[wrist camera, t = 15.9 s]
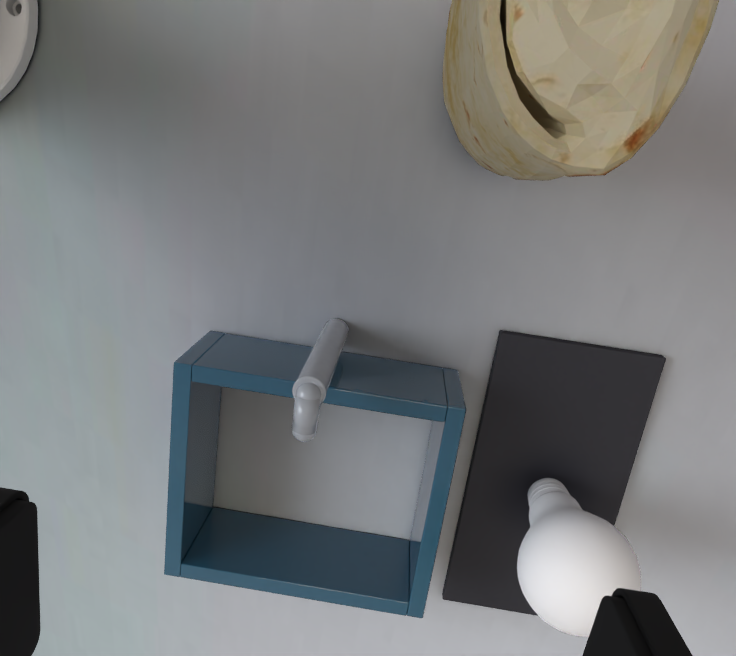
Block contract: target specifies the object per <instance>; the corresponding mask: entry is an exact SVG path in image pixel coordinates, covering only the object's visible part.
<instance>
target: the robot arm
mask: <svg viewBox="0 0 736 656" xmlns="http://www.w3.org/2000/svg"><path fill="white" fill-rule="evenodd" d="M21 8H22V10H21ZM37 31H38V3H37V0H0V101H1V100H2V99H3V98H4V97H5V96H6V95H7V94H8V93H9V92H11V91H12V90H13V89H14V88H15V86H16V85H17V83H18V82H19V80H20V79H21V77H22V76H23V74H24V73H25V71H26V69H27V66H28V64H29V61H30V59H31V57H32V54H33V51H34V46H35V41H36V36H37ZM39 635H40V602H39V564H38V527H37V507H36V505H35V503H33V502H29V498H28V495H27V494H26V493H25V492H23V491H18V490H12V489H6V488H0V656H31V655H32V654H33V652H34V650H35V648H36V645H37V643H38V640H39ZM583 656H692V654H691V653H690V651H689V649H688V647H687V646H686V644H685V642H684V640H683V639H682V637H681V635H680V633H679V632H678V630H677V628H676V626H675V625H674V623H673V621H672V619H671V618H670V616H669V614H668V612H667V611H666V609H665V607H664V605H663V603H662V602H661V600H660V599H659V598H658V596H657V595H655V594H653V593H648V592H642V591H636V590H630V589H624V588H617V589H616V590H615V591H614V592H613V594H612V596H608V595H607V596H604V597H603V598H602V600H601V602H600V605H599V608H598V611H597V614H596V617H595V620H594V623H593V626H592V629H591V632H590V635H589V638H588V641H587V644H586V647H585V650H584V653H583Z"/></svg>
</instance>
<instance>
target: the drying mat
mask: <svg viewBox="0 0 736 656" xmlns="http://www.w3.org/2000/svg"><path fill="white" fill-rule="evenodd" d="M665 360H666V358H665V357H664V356H662V355H657V354H651V353H644V352H638V351H632V350H625V349H619V348H612V347H606V346H600V345H593V344H587V343H580V342H574V341H567V340H561V339H555V338H548V337H542V336H535V335H529V334H523V333H516V332H510V331H503V330H500V331H499V336H498V341H497V345H496V350H495V354H494V359H493V364H492V368H491V373H490V377H489V382H488V387H487V391H486V396H485V400H484V405H483V410H482V414H481V419H480V423H479V428H478V433H477V437H476V442H475V446H474V451H473V455H472V460H471V465H470V469H469V474H468V478H467V483H466V488H465V492H464V497H463V501H462V506H461V511H460V515H459V520H458V524H457V529H456V534H455V538H454V543H453V547H452V552H451V557H450V561H449V566H448V570H447V575H446V580H445V584H444V589H443V593H442V594H443V599H444V600H450V601H456V602H461V603H467V604H473V605H479V606H485V607H491V608H497V609H502V610H508V611H514V612H520V613H526V614H532V615H537V614H536V612H535V611H534V610H533V609H532V608H531V606H530V605H529V603H528V601H527V600H526V598H525V596H524V594H523V593H522V590H521V587H520V584H519V580H518V574H517V560H518V552H519V548H520V546H521V543H522V541H523V539H524V537H525V535H526V533H527V532H528V530H529V529H530V522H529V509H530V508H529V503H528V496H527V495H528V490H529V488H530V487H531V485H532V484H533V483H534V482H536V481H538V480H540V479H543V478H553V479H556V480H558V481H560V482H561V483H562V484H563V485H564V486H565V488H566V489H567V491H568V492H569V494H570V496H572V497H573V498H574V499H575V500H576V501H577V502H578V503H579V505H580V507H581V508H582V510H583V511H586V512H589V513H591V514H593V515H596V516H598V517H600V518H602V519H604V520H606V521H608V522H609V523H610V524H612V525H613V526H614V524H615V521H616V518H617V515H618V512H619V508H620V505H621V502H622V499H623V495H624V492H625V489H626V486H627V483H628V479H629V476H630V473H631V470H632V466H633V463H634V460H635V457H636V454H637V450H638V447H639V444H640V441H641V437H642V434H643V431H644V428H645V425H646V421H647V418H648V415H649V412H650V408H651V405H652V402H653V399H654V396H655V392H656V389H657V386H658V383H659V379H660V376H661V373H662V370H663V367H664V363H665Z"/></svg>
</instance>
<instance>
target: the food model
mask: <svg viewBox="0 0 736 656" xmlns="http://www.w3.org/2000/svg"><path fill="white" fill-rule="evenodd" d="M718 2H719V0H452V4H451V8H450V12H449V20H448V27H447V33H446V44H445V52H444V61H443V92H444V103H445V106H446V108H447V111H448V114H449V116H450V119H451V122H452V124H453V127H454V129H455V132H456V134H457V136H458V139H459V141H460V143H461V144H462V145H463V147H464V148H465V149H466V151H467V152H468V153H469V155H470V156H471V157H472V158H473V159H474V160H475V161H476V162H477V163H478V164H479V165H481V166H483V167H484V168H485V169H487V170H490V171H492V172H494V173H496V174H498V175H501V176H509V177H512V178H514V179H521V180H542V181H543V180H552V179H556V178H559V177H562V176H567V177H574V176H596V175H606V174H607V173H609V172H610V171H612V170H613V169H615V168H617V167H618V166H620V165H621V164H623V163H624V162H626V161H627V160H629V159H631V158H632V157H633V156H634V155H635V153H636V152H637V151H638V150H639V149H640V148H641V147H642V146H643V145H644V144H645V143H646V142H647V140H648V139H649V138H650V137H651V136H652V135H653V134H654V133H655V132H656V131H657V130H658V129H659V127H660V125H661V124H662V122H663V121H664V119H665V117H666V116H667V114H668V113H669V111H670V109H671V108H672V106H673V105H674V103H675V102H676V100H677V98H678V97H679V95H680V94H681V92H682V90H683V89H684V87H685V85H686V83H687V81H688V78H689V76H690V74H691V72H692V69H693V67H694V65H695V62H696V60H697V58H698V56H699V53H700V51H701V49H702V46H703V44H704V42H705V40H706V37H707V35H708V33H709V31H710V28H711V25H712V21H713V18H714V15H715V12H716V9H717V5H718Z"/></svg>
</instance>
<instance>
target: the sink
mask: <svg viewBox="0 0 736 656" xmlns="http://www.w3.org/2000/svg"><path fill="white" fill-rule="evenodd" d="M348 332H349V330H348V326H347V325H346V323H345V322H344V321H342V320H340V319H331V320H329V321H327V322H326V323H325V325H324V327H323V329H322V331H321V333H320V335H319V337H318V339H317V341H316V343H315V344H314V346H313V347H310V346H303V345H297V344H291V343H284V342H278V341H272V340H265V339H259V338H253V337H246V336H240V335H234V334H228V333H226V334H225V333H223V332H216V331H209V332H208V333H207V334H206V335H205V336H204V337H203V338H201V339H200V340H199V341H198V342H197V343H196V344H195V345H193V346H192V347H191V348H190V349H189V350H188V351H187V352H185V353H184V354H183V355H182V356H181V357H180V358H178V359H177V360H176V361H175V362H174V372H173V394H172V416H171V438H170V460H169V482H168V504H167V526H166V548H165V570H164V574H165V575H171V576H177V577H183V578H189V579H195V580H201V581H207V582H213V583H218V584H224V585H230V586H236V587H242V588H247V589H253V590H259V591H265V592H271V593H277V594H282V595H288V596H294V597H300V598H306V599H312V600H317V601H323V602H329V603H335V604H341V605H346V606H352V607H358V608H364V609H370V610H376V611H381V612H387V613H393V614H399V615H405V616H406V615H407V616H412V617H417V618H423V615H424V610H425V605H426V600H427V596H428V591H429V586H430V581H431V576H432V572H433V567H434V562H435V557H436V552H437V548H438V543H439V538H440V533H441V528H442V524H443V519H444V514H445V509H446V504H447V500H448V495H449V490H450V485H451V480H452V476H453V471H454V466H455V461H456V456H457V452H458V447H459V442H460V437H461V432H462V428H463V423H464V418H465V413H466V407H465V402H464V397H463V392H462V387H461V383H460V378H459V373H458V370H455V369H449V368H443V369H442V368H441V367H436V366H429V365H423V364H417V363H410V362H404V361H398V360H392V359H385V358H379V357H373V356H366V355H360V354H354V353H347V352H342V350H343V347H344V344H345V342H346V339H347V336H348ZM221 387H228V388H235V389H241V390H247V391H253V392H259V393H266V394H272V395H278V396H284V397H290V398H294V399H295V405H294V414H293V423H292V433H293V436H294V437H295V438H296V439H297V440H298V441H301V442H308V441H310V440H312V439H313V438H314V437H315V435H316V433H317V427H318V419H319V412H320V404H321V403H328V404H334V405H340V406H346V407H352V408H359V409H365V410H371V411H377V412H383V413H390V414H396V415H402V416H408V417H414V418H421V419H427V420H433V421H432V427H431V432H430V437H429V442H428V447H427V453H426V458H425V463H424V468H423V474H422V479H421V484H420V489H419V495H418V500H417V505H416V510H415V516H414V521H413V526H412V531H411V536H410V541H409V540H405V539H400V538H394V537H388V536H382V535H376V534H370V533H364V532H358V531H352V530H346V529H340V528H334V527H328V526H322V525H316V524H310V523H304V522H298V521H292V520H286V519H280V518H274V517H268V516H262V515H257V514H251V513H245V512H239V511H233V510H227V509H221V508H215V507H213V498H214V484H215V470H216V456H217V442H218V428H219V414H220V400H221Z"/></svg>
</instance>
